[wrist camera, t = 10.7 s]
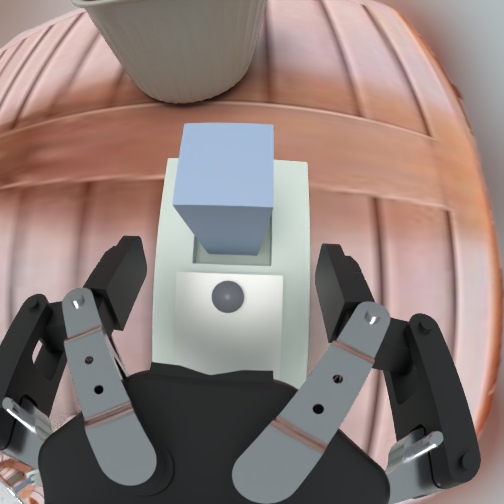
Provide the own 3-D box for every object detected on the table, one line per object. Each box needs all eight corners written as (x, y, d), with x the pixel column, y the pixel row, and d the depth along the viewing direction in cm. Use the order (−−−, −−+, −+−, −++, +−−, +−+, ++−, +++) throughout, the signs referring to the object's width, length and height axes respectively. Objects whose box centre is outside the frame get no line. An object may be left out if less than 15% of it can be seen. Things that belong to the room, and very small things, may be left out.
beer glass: (106, 473, 19) (41, 546, 4) (57, 435, 19) (-23, 484, 4) (125, 439, 20) (48, 523, 5) (72, 397, 20) (-28, 444, 6)
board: (167, 457, 20) (161, 470, 17) (174, 170, 25) (168, 158, 22) (291, 463, 20) (296, 477, 18) (301, 174, 25) (307, 162, 22)
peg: (208, 253, 22) (172, 204, 11) (211, 207, 23) (184, 123, 11) (257, 255, 22) (273, 207, 11) (258, 208, 23) (273, 124, 11)
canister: (125, 150, 25) (21, -8, 4) (123, 55, 28) (80, -57, 7) (291, 109, 26) (336, -72, 6) (247, 26, 29) (251, -94, 8)
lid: (182, 366, 19) (171, 377, 16) (184, 275, 20) (173, 270, 17) (275, 370, 19) (281, 383, 16) (278, 278, 20) (284, 274, 17)
